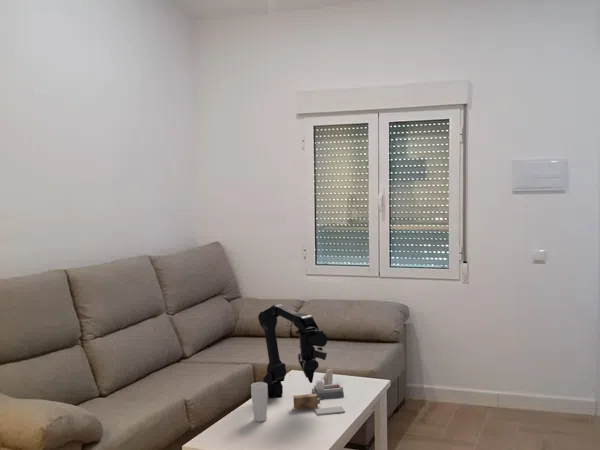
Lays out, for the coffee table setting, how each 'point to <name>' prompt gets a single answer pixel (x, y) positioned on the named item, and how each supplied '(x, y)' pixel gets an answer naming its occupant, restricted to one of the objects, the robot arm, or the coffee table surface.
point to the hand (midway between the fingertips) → (309, 379)
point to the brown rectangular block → (306, 401)
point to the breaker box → (329, 391)
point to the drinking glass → (259, 400)
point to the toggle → (319, 385)
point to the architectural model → (328, 377)
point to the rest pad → (329, 410)
